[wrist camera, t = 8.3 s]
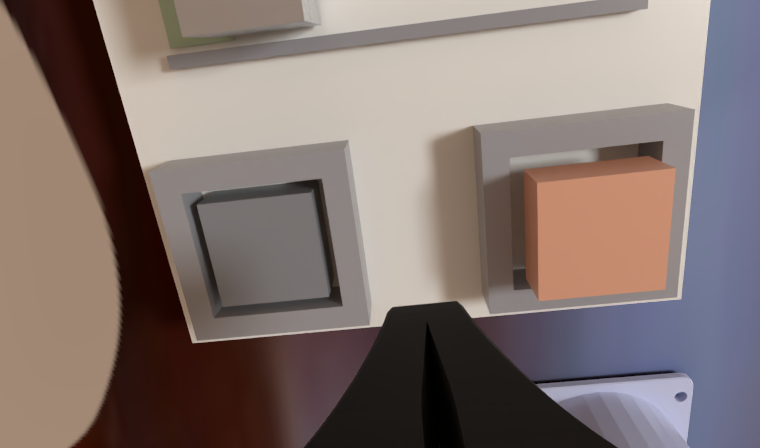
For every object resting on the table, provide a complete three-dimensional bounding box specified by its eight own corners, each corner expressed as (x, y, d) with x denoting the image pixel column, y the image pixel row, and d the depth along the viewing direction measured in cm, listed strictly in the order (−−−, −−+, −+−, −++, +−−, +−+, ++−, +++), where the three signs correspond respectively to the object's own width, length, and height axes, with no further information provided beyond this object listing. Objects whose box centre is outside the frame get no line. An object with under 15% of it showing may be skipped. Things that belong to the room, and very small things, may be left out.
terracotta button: (640, 267, 16) (665, 289, 14) (525, 278, 16) (538, 301, 15) (648, 155, 14) (675, 168, 13) (523, 169, 15) (537, 182, 13)
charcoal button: (334, 276, 18) (329, 296, 16) (236, 286, 18) (222, 306, 17) (317, 179, 17) (310, 192, 15) (212, 191, 17) (196, 205, 15)
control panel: (647, 269, 20) (705, 321, 16) (214, 309, 21) (176, 367, 17) (682, -222, 15) (781, -313, 11) (97, -130, 16) (5, -184, 12)
